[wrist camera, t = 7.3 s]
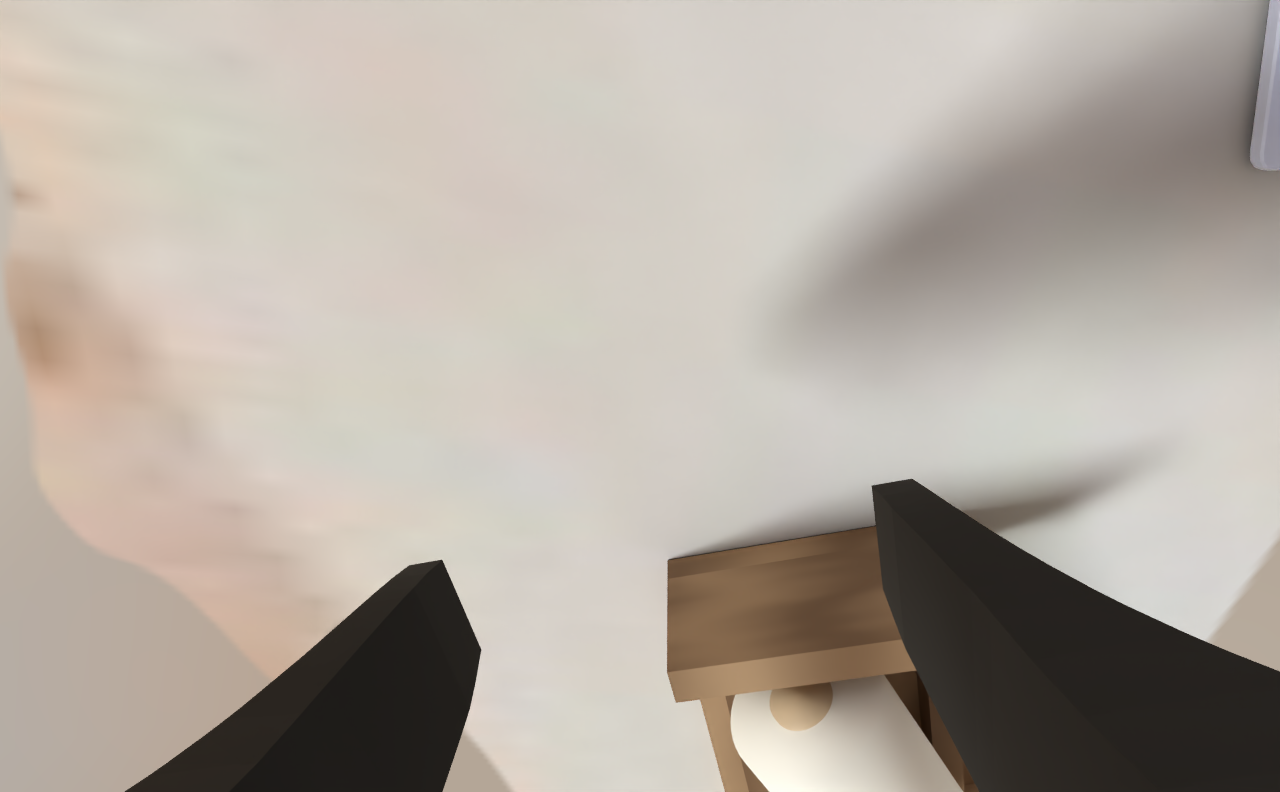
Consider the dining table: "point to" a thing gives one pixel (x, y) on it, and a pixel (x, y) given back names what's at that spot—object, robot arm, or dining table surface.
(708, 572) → the holder
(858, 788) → the roll
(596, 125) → the dining table surface
